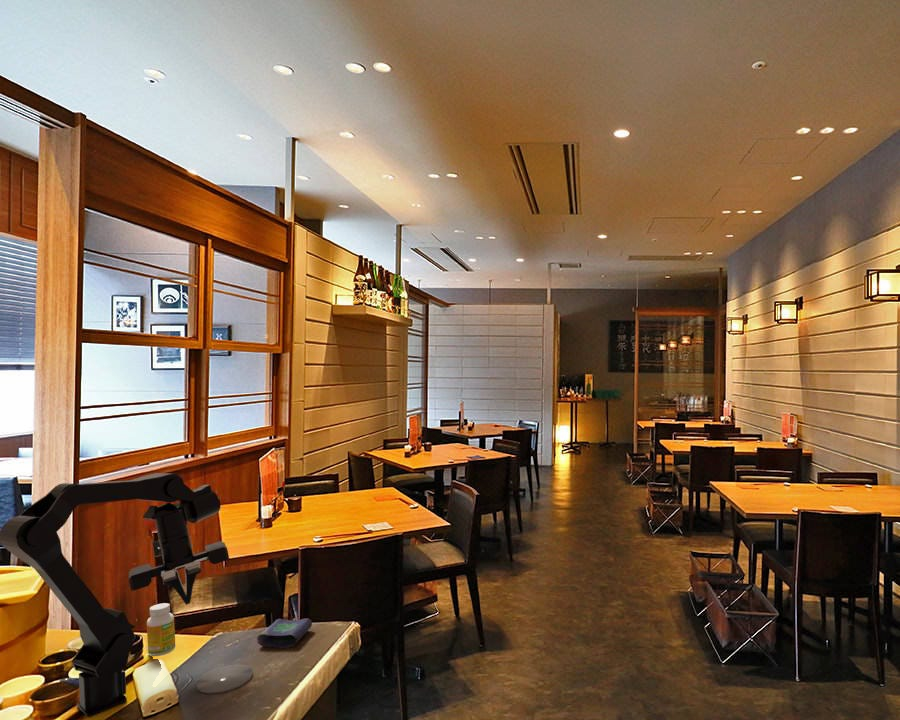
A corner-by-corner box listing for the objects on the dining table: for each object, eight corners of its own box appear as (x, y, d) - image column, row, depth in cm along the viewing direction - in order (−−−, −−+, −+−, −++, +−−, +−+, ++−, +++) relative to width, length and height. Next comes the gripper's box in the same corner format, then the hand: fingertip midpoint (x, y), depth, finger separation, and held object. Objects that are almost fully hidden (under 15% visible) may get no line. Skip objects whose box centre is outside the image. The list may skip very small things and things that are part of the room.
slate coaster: (211, 699, 106) (211, 696, 106) (187, 683, 113) (187, 680, 113) (262, 676, 113) (261, 673, 114) (236, 662, 120) (236, 659, 120)
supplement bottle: (164, 657, 125) (162, 611, 126) (142, 656, 126) (140, 611, 127) (180, 646, 131) (178, 601, 131) (159, 645, 132) (157, 601, 132)
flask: (256, 634, 127) (278, 615, 137) (256, 648, 127) (279, 628, 137) (296, 634, 125) (315, 615, 136) (297, 648, 125) (316, 628, 136)
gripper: (215, 509, 133) (228, 575, 135) (123, 536, 125) (138, 605, 126) (222, 522, 124) (236, 592, 125) (122, 551, 115) (138, 626, 116)
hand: (187, 603), depth 123 cm, fingers closed
